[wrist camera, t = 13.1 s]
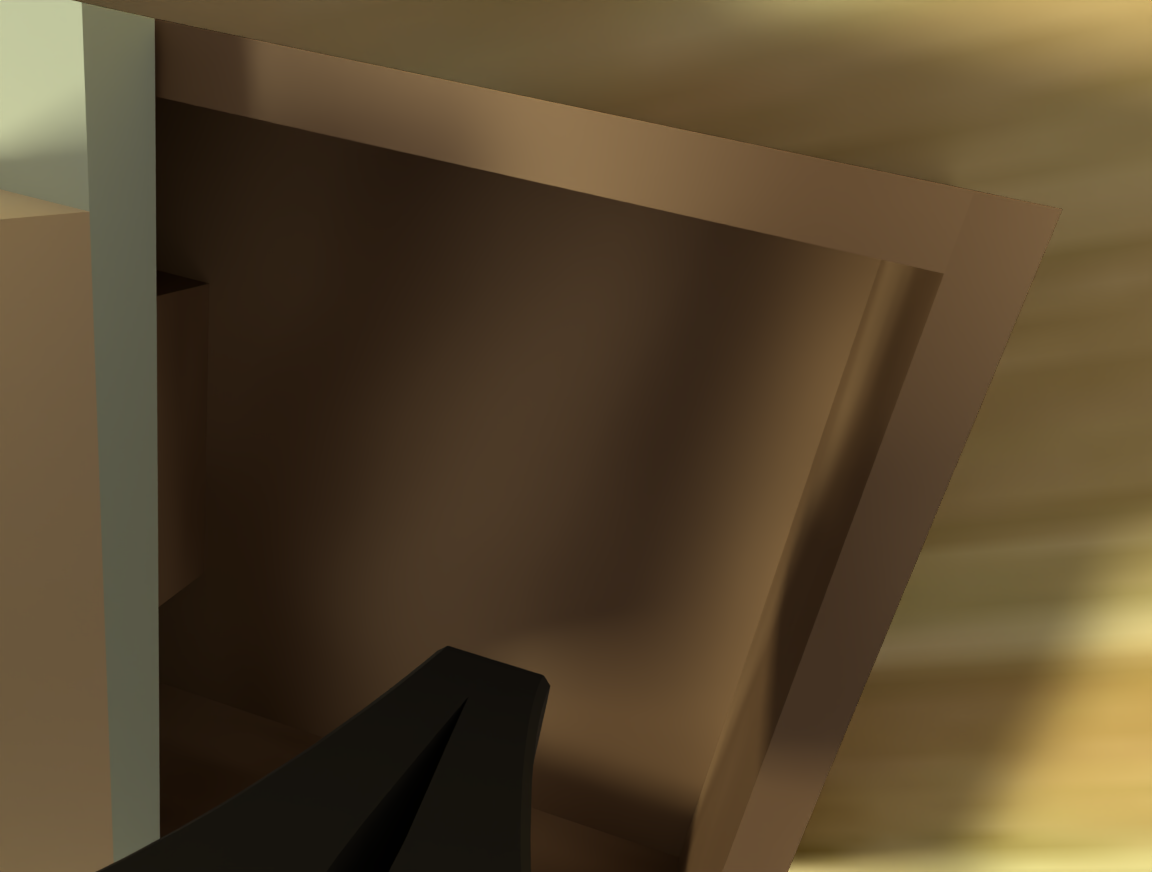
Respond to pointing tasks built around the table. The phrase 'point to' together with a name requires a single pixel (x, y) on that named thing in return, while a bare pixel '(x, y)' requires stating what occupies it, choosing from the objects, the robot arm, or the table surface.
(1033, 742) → the table surface
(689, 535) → the brown wooden box
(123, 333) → the lid
